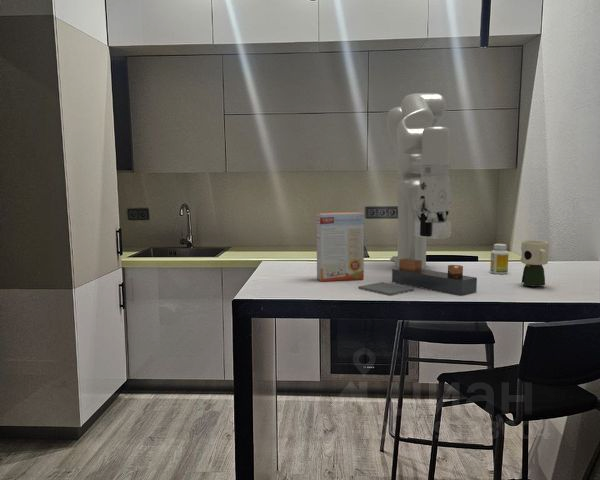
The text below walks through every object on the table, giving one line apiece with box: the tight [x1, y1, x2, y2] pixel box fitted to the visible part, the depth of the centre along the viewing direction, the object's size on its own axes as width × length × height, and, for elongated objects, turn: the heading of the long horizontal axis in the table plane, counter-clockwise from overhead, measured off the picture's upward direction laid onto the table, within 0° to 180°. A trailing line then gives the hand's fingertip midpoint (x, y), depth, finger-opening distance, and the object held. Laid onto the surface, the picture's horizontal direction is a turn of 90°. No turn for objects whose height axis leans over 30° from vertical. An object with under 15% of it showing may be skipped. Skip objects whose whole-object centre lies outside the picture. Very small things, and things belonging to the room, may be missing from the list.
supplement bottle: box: [489, 243, 509, 275], centre depth 165 cm, size 5×5×10 cm
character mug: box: [520, 239, 550, 288], centre depth 143 cm, size 11×7×13 cm, turn 2°
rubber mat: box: [357, 281, 415, 296], centre depth 140 cm, size 12×10×1 cm
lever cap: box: [415, 217, 452, 240], centre depth 143 cm, size 8×6×5 cm
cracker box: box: [315, 211, 365, 282], centre depth 155 cm, size 14×6×21 cm, turn 101°
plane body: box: [391, 258, 478, 296], centre depth 143 cm, size 24×7×7 cm, turn 39°
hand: (432, 234), depth 143 cm, fingers closed on lever cap, 6 cm apart
